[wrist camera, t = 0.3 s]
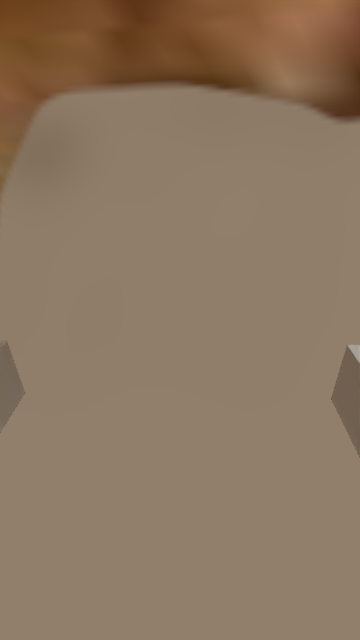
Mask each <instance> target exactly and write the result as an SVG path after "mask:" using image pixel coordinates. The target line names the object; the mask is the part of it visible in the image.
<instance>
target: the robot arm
mask: <svg viewBox="0 0 360 640" xmlns="http://www.w3.org/2000/svg"><path fill="white" fill-rule="evenodd" d="M24 394H25V391H24V388H23V385H22V383H21V380H20V377H19V374H18V371H17V368H16V366H15V363H14V360H13V357H12V354H11V351H10V348H9V346H8V343H7V341H0V432H1V430H2V429H3V427H4V426H5V424H6V422H7V421H8V419H9V418H10V416H11V415H12V413H13V411H14V410H15V408H16V407H17V405H18V404H19V402H20V400H21V399H22V397H23V396H24ZM331 400H332V402H333V404H334V406H335V408H336V409H337V412H338V414H339V416H340V418H341V420H342V422H343V424H344V426H345V428H346V430H347V432H348V434H349V436H350V438H351V441H352V442H353V445H354V446H355V449H356V451H357V453H358V455H359V457H360V345H347V347H346V351H345V354H344V357H343V361H342V364H341V367H340V371H339V374H338V377H337V381H336V384H335V387H334V391H333V394H332V397H331Z"/></svg>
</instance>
